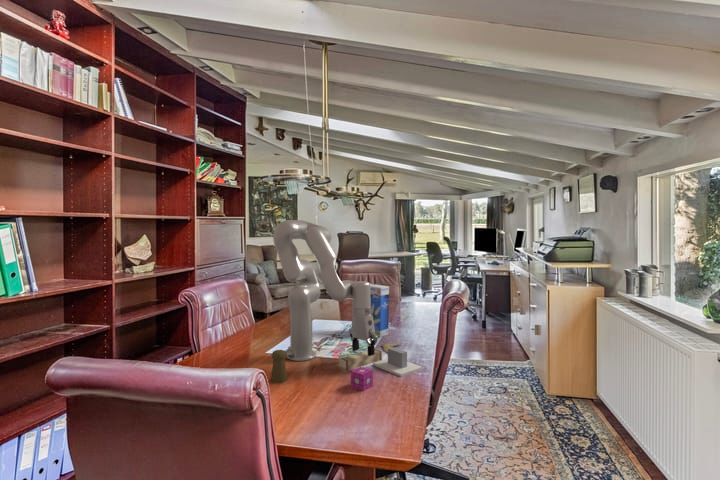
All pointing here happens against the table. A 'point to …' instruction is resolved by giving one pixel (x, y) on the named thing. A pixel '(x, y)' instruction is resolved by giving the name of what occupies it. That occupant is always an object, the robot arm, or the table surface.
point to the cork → (279, 367)
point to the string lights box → (380, 308)
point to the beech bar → (359, 360)
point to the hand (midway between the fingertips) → (363, 352)
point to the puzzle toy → (362, 378)
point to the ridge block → (397, 363)
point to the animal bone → (388, 346)
